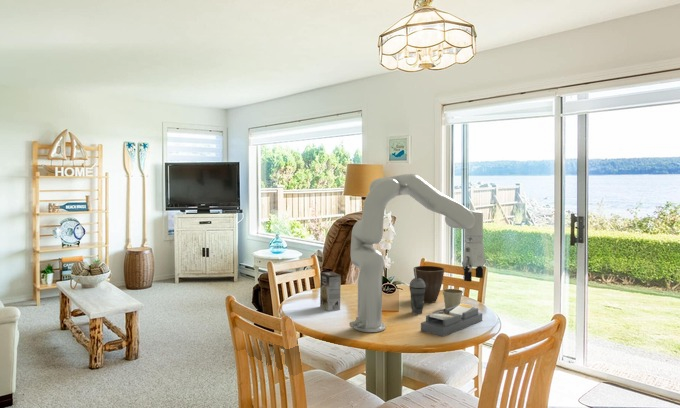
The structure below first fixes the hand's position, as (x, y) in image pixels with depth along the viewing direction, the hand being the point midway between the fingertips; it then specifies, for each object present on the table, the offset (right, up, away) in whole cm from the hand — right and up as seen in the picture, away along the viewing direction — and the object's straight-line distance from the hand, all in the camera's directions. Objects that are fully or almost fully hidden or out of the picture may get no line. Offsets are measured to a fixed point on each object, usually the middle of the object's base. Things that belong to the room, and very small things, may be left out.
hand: (473, 279), depth 195 cm
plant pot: (-14, -16, +30) cm, 36 cm away
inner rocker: (-17, -12, -16) cm, 26 cm away
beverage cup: (-23, -16, +8) cm, 29 cm away
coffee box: (-62, -16, +14) cm, 65 cm away
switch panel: (-12, -17, -10) cm, 23 cm away
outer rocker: (-7, -12, -6) cm, 15 cm away
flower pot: (-6, -16, +14) cm, 22 cm away
